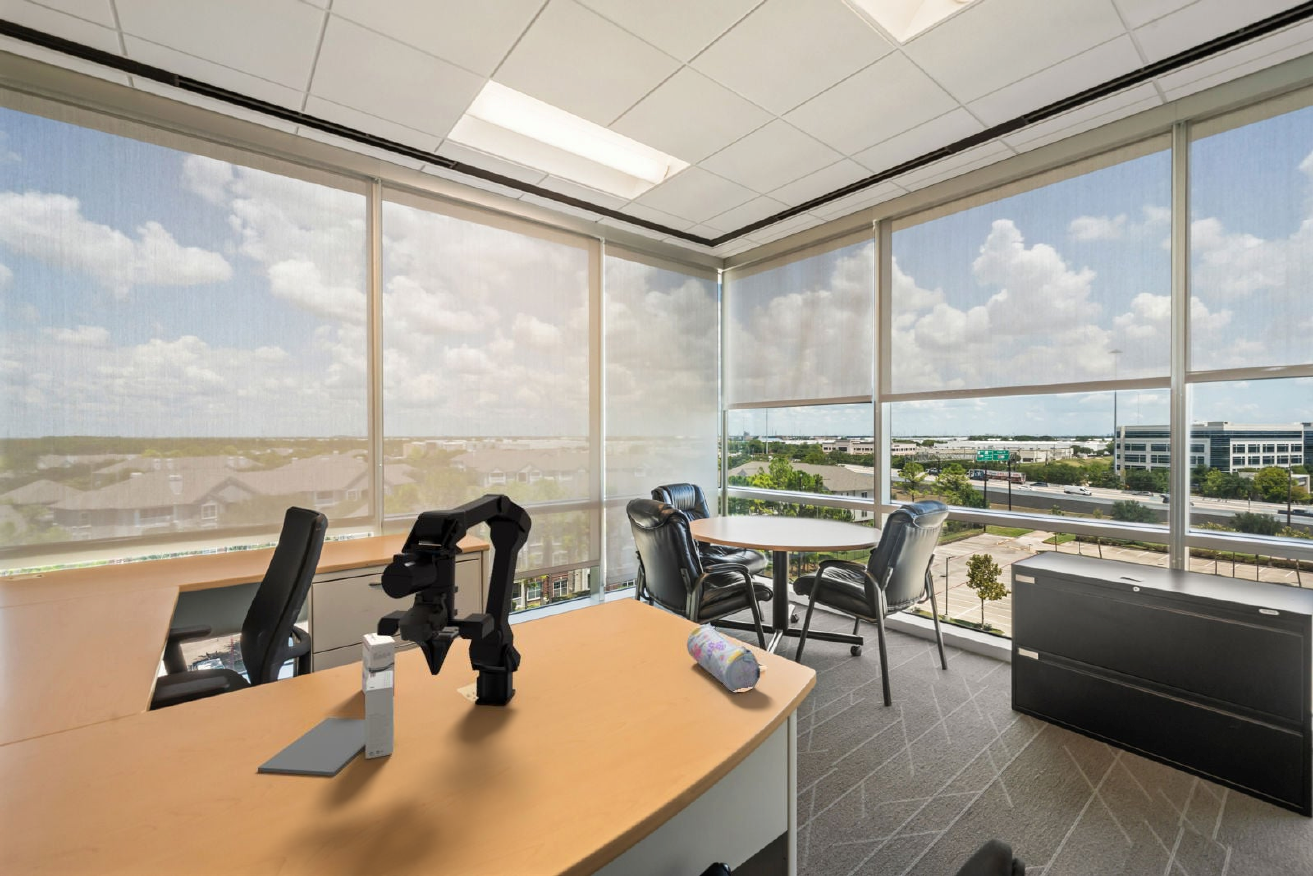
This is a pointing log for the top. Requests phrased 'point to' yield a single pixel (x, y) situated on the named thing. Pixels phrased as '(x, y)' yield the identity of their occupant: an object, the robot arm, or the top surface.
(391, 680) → the skincare box
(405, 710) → the top surface
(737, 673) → the pencil case
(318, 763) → the mat
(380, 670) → the ink box
